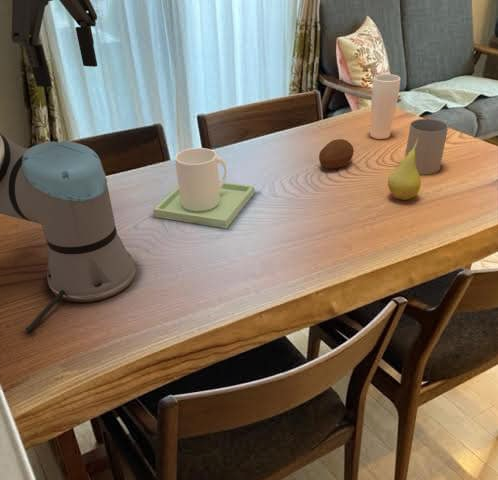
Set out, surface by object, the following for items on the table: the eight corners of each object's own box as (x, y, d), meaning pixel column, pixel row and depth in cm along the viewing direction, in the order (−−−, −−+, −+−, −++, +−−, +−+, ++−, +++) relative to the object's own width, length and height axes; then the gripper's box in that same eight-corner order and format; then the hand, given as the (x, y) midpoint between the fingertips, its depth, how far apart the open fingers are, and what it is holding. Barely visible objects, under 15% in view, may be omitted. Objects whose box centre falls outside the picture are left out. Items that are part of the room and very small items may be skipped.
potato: (311, 168, 131) (312, 142, 127) (337, 156, 136) (339, 131, 132) (332, 175, 127) (333, 150, 123) (358, 163, 132) (360, 138, 128)
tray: (226, 228, 110) (225, 220, 108) (154, 216, 114) (153, 209, 113) (254, 193, 121) (254, 185, 120) (188, 184, 126) (187, 176, 125)
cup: (413, 157, 134) (420, 116, 127) (445, 165, 130) (454, 123, 123) (397, 168, 129) (403, 127, 123) (430, 177, 125) (438, 134, 118)
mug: (240, 198, 118) (237, 150, 112) (196, 216, 113) (191, 168, 106) (215, 186, 124) (212, 140, 117) (172, 203, 118) (166, 156, 111)
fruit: (381, 200, 117) (389, 146, 109) (393, 187, 122) (401, 134, 114) (412, 207, 114) (421, 152, 106) (422, 193, 119) (432, 139, 111)
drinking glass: (396, 134, 146) (404, 75, 136) (387, 142, 142) (395, 82, 132) (372, 130, 149) (379, 72, 139) (363, 138, 144) (369, 79, 135)
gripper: (64, -75, 94) (91, 57, 107) (-44, -63, 76) (4, 94, 90) (101, -76, 92) (123, 59, 105) (-2, -63, 74) (40, 97, 87)
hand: (68, 75), depth 97 cm, fingers open, 13 cm apart
